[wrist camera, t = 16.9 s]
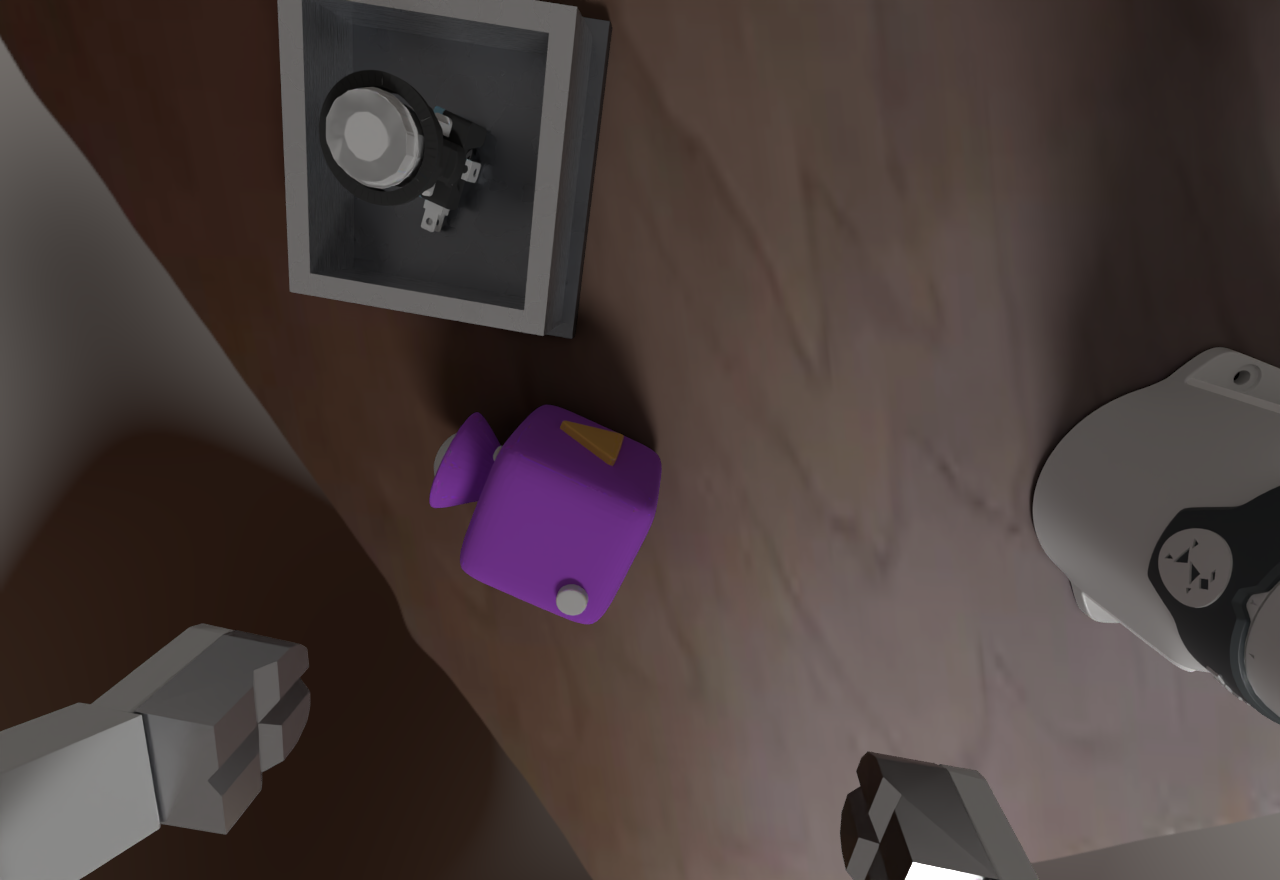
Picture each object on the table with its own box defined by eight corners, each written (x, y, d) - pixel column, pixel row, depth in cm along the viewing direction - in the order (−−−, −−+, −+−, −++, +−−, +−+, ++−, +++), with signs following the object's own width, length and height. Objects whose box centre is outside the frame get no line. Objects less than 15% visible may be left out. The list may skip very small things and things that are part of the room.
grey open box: (612, 27, 32) (596, -11, 27) (574, 336, 38) (556, 352, 33) (326, -18, 33) (258, -65, 28) (332, 293, 39) (276, 303, 34)
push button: (477, 248, 36) (400, 254, 27) (394, 210, 36) (286, 203, 26) (513, 134, 34) (443, 98, 24) (425, 93, 33) (320, 40, 24)
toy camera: (473, 373, 40) (405, 417, 30) (673, 423, 40) (666, 483, 30) (454, 514, 43) (387, 592, 34) (636, 560, 43) (620, 651, 34)
